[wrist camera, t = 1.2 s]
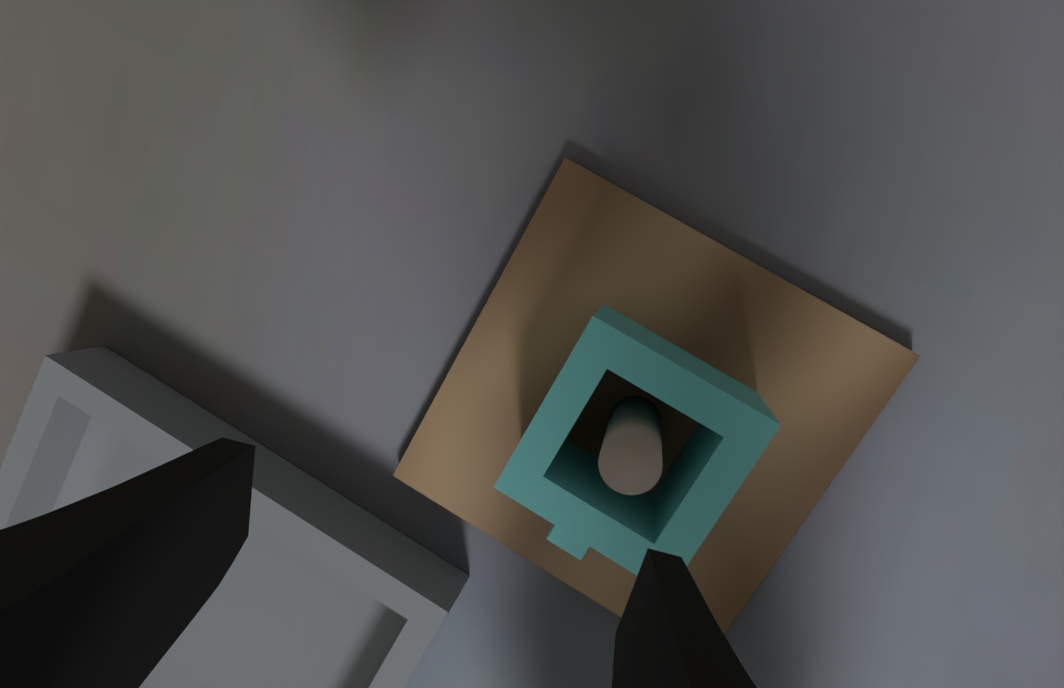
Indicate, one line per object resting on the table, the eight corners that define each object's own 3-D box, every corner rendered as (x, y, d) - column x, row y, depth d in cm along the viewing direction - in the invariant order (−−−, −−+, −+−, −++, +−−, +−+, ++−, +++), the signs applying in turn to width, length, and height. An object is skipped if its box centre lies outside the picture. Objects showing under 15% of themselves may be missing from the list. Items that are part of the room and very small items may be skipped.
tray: (469, 576, 24) (448, 612, 22) (304, 855, 27) (269, 915, 24) (103, 345, 25) (45, 355, 23) (-17, 634, 28) (-81, 670, 26)
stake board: (912, 353, 20) (998, 386, 15) (699, 656, 23) (712, 772, 18) (567, 159, 22) (540, 131, 16) (399, 470, 24) (330, 528, 19)
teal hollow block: (757, 392, 21) (781, 424, 17) (642, 567, 22) (640, 635, 18) (604, 303, 21) (592, 315, 17) (501, 481, 23) (469, 528, 19)
